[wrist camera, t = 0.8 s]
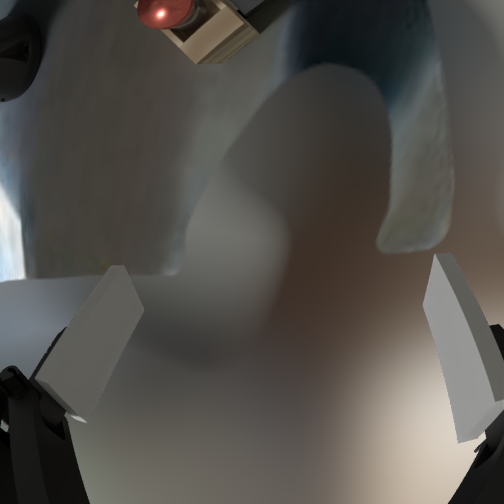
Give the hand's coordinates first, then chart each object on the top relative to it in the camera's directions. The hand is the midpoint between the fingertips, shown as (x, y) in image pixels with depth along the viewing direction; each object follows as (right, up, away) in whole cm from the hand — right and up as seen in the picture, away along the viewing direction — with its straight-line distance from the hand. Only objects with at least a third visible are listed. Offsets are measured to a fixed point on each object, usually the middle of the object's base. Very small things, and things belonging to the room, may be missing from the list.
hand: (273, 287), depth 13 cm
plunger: (-6, +22, +8) cm, 24 cm away
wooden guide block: (-5, +27, +16) cm, 32 cm away
